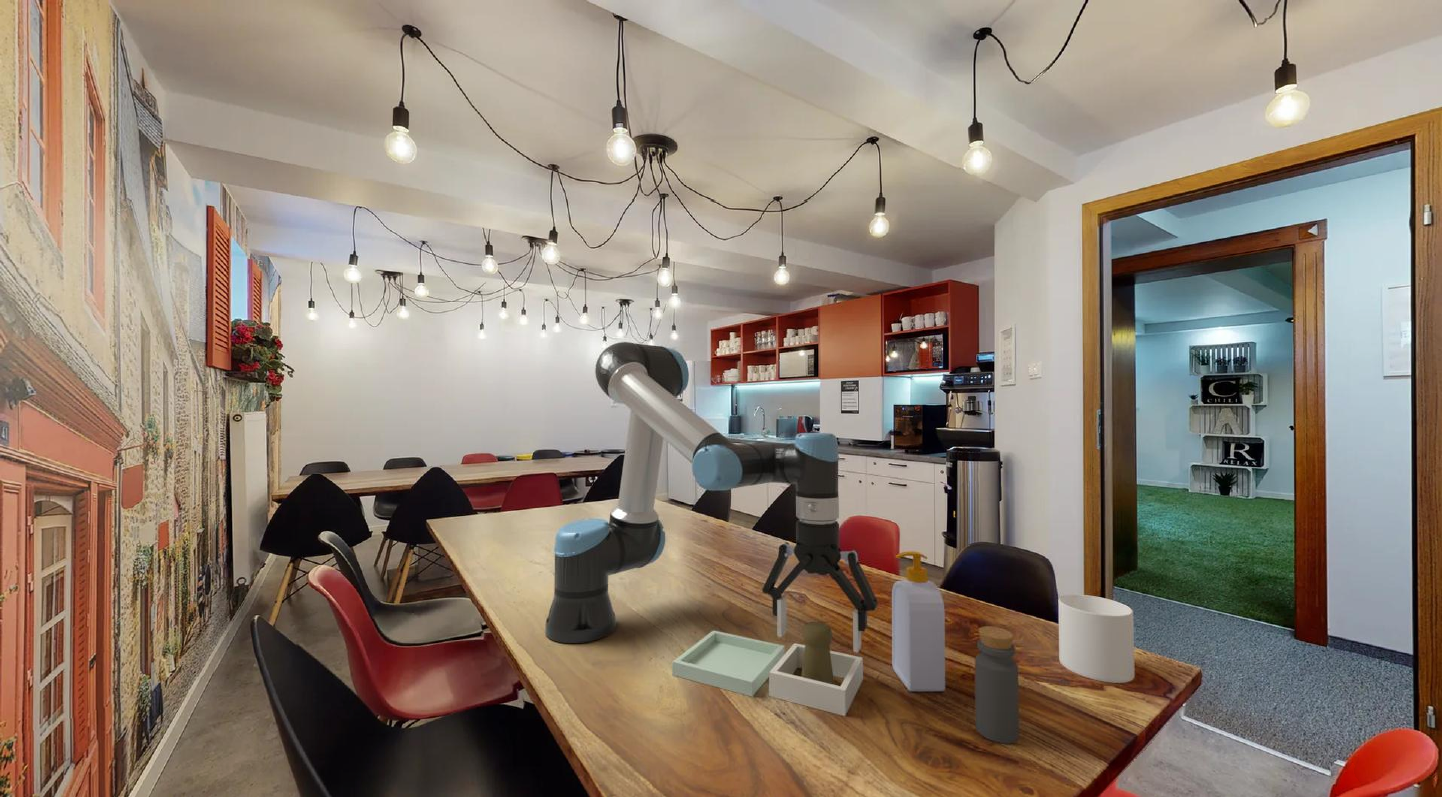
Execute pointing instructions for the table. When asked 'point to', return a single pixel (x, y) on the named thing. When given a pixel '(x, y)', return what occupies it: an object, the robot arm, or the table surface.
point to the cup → (1096, 638)
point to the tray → (729, 662)
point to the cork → (817, 652)
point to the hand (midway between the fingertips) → (818, 641)
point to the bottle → (996, 686)
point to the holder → (812, 690)
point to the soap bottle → (918, 629)
